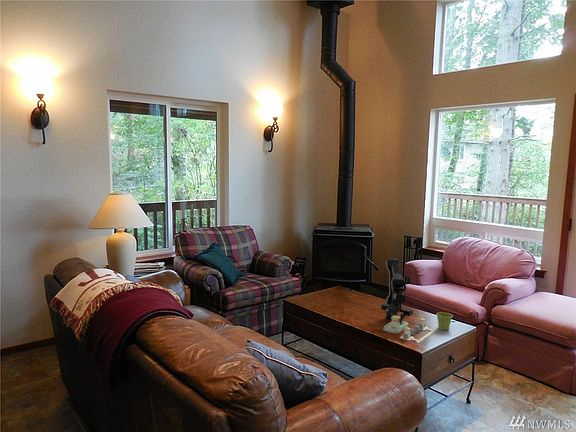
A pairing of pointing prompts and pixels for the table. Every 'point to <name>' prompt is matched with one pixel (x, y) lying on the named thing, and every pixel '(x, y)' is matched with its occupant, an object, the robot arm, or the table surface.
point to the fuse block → (417, 328)
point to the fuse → (395, 322)
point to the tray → (395, 331)
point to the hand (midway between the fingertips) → (396, 323)
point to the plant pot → (444, 320)
